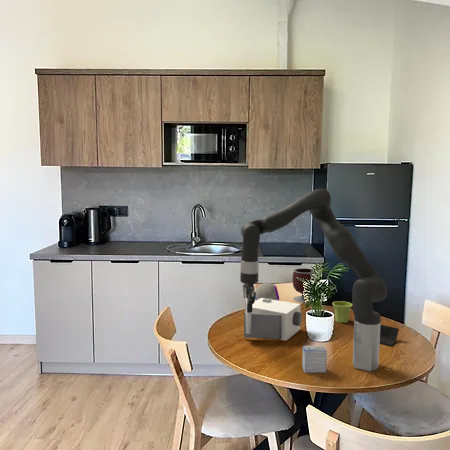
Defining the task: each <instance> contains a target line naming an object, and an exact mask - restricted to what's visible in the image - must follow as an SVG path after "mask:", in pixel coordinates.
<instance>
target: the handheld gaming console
mask: <svg viewBox="0 0 450 450" xmlns="http://www.w3.org/2000/svg"><path fill="white" fill-rule="evenodd" d="M399 331H400V329H399V328H398V327H394V326H393V327H392V326H388V325H383V324H380V345H383V346H387V347H391V348H392V347H393V346H394V345H395V344H396V343H397V338H398V335H399Z"/></svg>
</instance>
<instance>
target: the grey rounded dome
mask: <svg viewBox="0 0 450 450" xmlns="http://www.w3.org/2000/svg"><path fill="white" fill-rule="evenodd" d="M254 292H256V296H255V301H256V300H258V299H260V298H268V299H272V300H278V301H280V295H279V290H278V287H277V286H276V284H274V283H271V282H264V283H261V284H260V285H258V286H257V288H255V291H254Z"/></svg>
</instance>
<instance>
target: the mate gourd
mask: <svg viewBox="0 0 450 450" xmlns="http://www.w3.org/2000/svg"><path fill="white" fill-rule="evenodd" d="M313 269H314V268H306V267H304V268H303V267H300V268H295V269H293V272H292V286H293V289H294V290H295V291H296V292H297V293H300V294H301V295H299V296H298V295H297V296H294V297H293V301H294V302H296V303H299V304H300V303H301V304H306V303H305V299H304V295H303V291H304V287H303V283H304V282H302V281H300V280H298V279H296V278H295V277H298V278H302V279H303V278H304V279H307V280H310V279H311V276H310V274H314V272H313ZM304 284H305V283H304Z"/></svg>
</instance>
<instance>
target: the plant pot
mask: <svg viewBox="0 0 450 450" xmlns="http://www.w3.org/2000/svg"><path fill="white" fill-rule="evenodd" d="M332 306H333V309H334V317H335V322H337V323H344V324H346V323H349V322H350V321H349V320H350V314H351V309H352V308H353V304H352V303H351V302H349V301H345V300H342V301H341V300H340V301H333V302H332Z"/></svg>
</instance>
